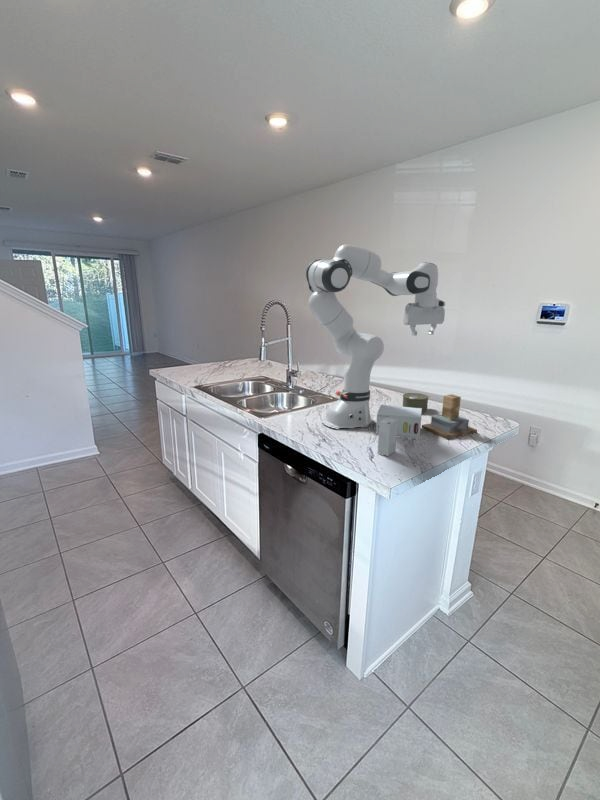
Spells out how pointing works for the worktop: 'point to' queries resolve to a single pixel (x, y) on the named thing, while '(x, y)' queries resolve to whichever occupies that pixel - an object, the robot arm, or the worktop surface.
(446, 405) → the oak pillar
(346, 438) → the worktop surface
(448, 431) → the build base
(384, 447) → the skincare box
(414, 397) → the can
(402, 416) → the supplement box
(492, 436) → the worktop surface
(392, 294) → the robot arm
